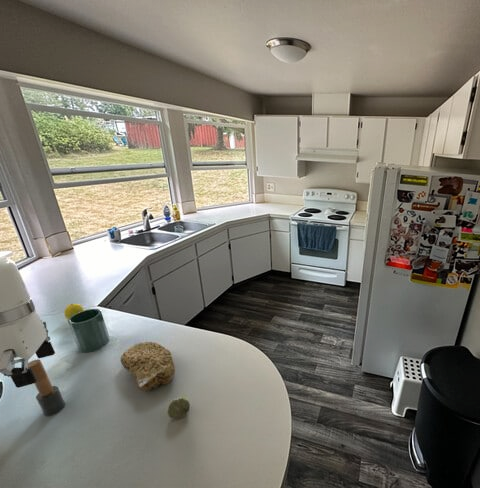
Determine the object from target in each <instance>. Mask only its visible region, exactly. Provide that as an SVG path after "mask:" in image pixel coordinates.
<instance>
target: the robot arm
mask: <svg viewBox="0 0 480 488" xmlns="http://www.w3.org/2000/svg"><path fill="white" fill-rule="evenodd" d="M55 354H56V351H55V349H54V347H53V344H52V342H51V337H50V336H49V330H48V328H47V322H46V321H43V320H42V319H41V318H40V315H39V314H38V313H37V309H36V306H35V304H34V301H33V299H32V296H31V295H30V292H29V291H28V288H27V286H26V283H25V282H24V280H23V277H22V275H21V273H20V271H19V269H18V266H17V264H16V263H15V261H13V260H12V259H10V258H7V257H5V258H4V257H0V374H2V375H3V376H4V377H7V378H9V377H10V378H11V380H12V383H13V384H14V386H15V387H16V388H23V387H27V386H30V385H35V384H34V383H35V382H36V381H37V380H36V378H35V376H34V374H33V372H32V370H31V368H30V369H28V363H29V360H30V359H31V358H32V357H34V355H36V357H37V359H43V358H47V357H51V356H55ZM17 358H19V359H17ZM18 363H21V366H20V367H15V364H18Z"/></svg>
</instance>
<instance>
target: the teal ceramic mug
mask: <svg viewBox="0 0 480 488" xmlns="http://www.w3.org/2000/svg"><path fill="white" fill-rule="evenodd" d="M67 324H68V326H69V329H70V330H71V333H72V336H73V339H74V342H75V344H76V346H77V349H78V351H79V353H91V352H95V351H98V350H99V349H101V348H103V347H105V346H106V345H107V344H108V343H109V342H110V339H111V337H110V335H109V332H108V328H107V325H106V322H105V319H104V316H103V313H102V310H101V309H99V308H90V309H84V311H81V312H79V313H76V314H74V315H73V316H71V317H70V318H69V319H67Z"/></svg>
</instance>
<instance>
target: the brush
mask: <svg viewBox="0 0 480 488" xmlns="http://www.w3.org/2000/svg"><path fill="white" fill-rule="evenodd" d="M30 368H31V370H32V372H33V374H34V376H35V378H36V380H37V381H36V382H35V383H34V384H33V385H35V387H36V389H37V392H38V393H37V394H36V396H35V399H36V401H37V403H38V405H39V407H40V409H41V412H42V413H43V415H44V416H45V417H50V416H53V415H56V414H57V413H60V411H62V410H63V409H64V408H65V406H66V401H65V399H64V397H63V395H62V393H61V391H60V389H59V387H58V386H57V385H53V384H52V383H51V380H50V378H49V376H48V373H47V372H46V369H45V367H44V365H43V362H42V361H41V359H40V358H37V359H33V360H31V361H28V369H30Z"/></svg>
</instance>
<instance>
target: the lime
mask: <svg viewBox="0 0 480 488" xmlns="http://www.w3.org/2000/svg"><path fill="white" fill-rule="evenodd" d="M190 407H191V405H190V401H189V400H188V399H187V398H186V397H184V396H180V397H175V398H174V399H173V400H172V401H171V402H170V403H169V405H168V408H167V415H168V417H169V418H170V419H172V420H175V421H176V420H179V419H182V418H183V417H185V416H186V415H187V413H189V412H190Z"/></svg>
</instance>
